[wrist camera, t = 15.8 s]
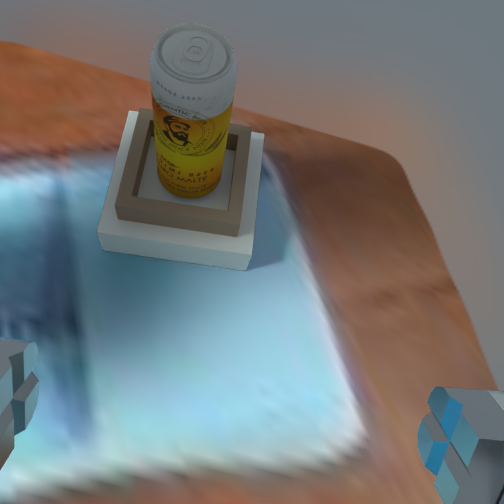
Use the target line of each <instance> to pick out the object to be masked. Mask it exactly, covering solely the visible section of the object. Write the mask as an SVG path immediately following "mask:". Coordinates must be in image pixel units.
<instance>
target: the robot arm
mask: <svg viewBox="0 0 504 504" xmlns="http://www.w3.org/2000/svg"><path fill="white" fill-rule="evenodd" d="M38 361H39V359H38V346H37V345H36V343H35V342H33V341H25V340H17V339H9V338H2V337H0V470H1V468H2V467H3V465H4V463H5V462H6V460H7V458H8V457H9V455H10V454H11V452H12V450H13V449H14V436H15V435H16V434H18V433H20V432H22V431H23V430H25V429H26V427H27V426H28V424H29V422H30V420H31V419H32V416H33V413H34V410H35V408H36V405H37V400H38V393H39V380H38V379H37V377H36V376H35V375H34V374H33V372H32V370H33V368H34V367H35V366H36V364H37V363H38ZM428 405H429V407H430V409H431V412H430V413H429V414H428V415H426V416H425V417H424V418H423V419H421V423H420V426H419V430H418V450H419V454H420V457H421V459H422V461H423V464H424V466H425V467H426V468H427V469H429V470H430V471H431V472H432V473H433V474H435V475H436V476H437V477H436V480H435V483H434V486H435V488H436V490H437V492H438V494H439V496H440V498H441V500H442V502H443V504H504V391H490V390H473V389H462V388H450V387H439V386H436V387H435V388H434V389H433V390H432V392H431V394H430V396H429V399H428Z"/></svg>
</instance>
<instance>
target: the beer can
mask: <svg viewBox="0 0 504 504" xmlns="http://www.w3.org/2000/svg"><path fill="white" fill-rule="evenodd" d="M149 63H150V64H149V65H150V79H151V92H152V106H153V120H154V133H155V147H156V160H157V173H158V178H159V180H160V182H161V184H162V185H163V186H164V188H166V189H167V190H168V191H169V192H171V193H172V194H174V195H176V196H179V197H183V198H199V197H203V196H205V195H207V194H209V193H211V192H212V191H213V190H214V189H215V188H216V187H217V186H218V184H219V182H220V180H221V175H222V169H223V162H224V156H225V149H226V143H227V136H228V130H229V123H230V117H231V110H232V103H233V97H234V91H235V83H236V77H237V69H238V67H237V62H236V59H235V57H234V54H233V49H232V46H231V44H230V42H229V41H228V40H227V38H226V37H224V35H222V34H221V33H220V32H218V31H217V30H215V29H213V28H211V27H208V26H205V25H201V24H193V23H186V24H179V25H175V26H172V27H170V28H168V29H166V30H165V31H164V32H162V34H161V35H160V36H159V37H158V39H157V41H156V44H155V47H154V49H153V50H152V52H151V55H150V60H149Z"/></svg>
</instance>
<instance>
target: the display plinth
mask: <svg viewBox="0 0 504 504" xmlns="http://www.w3.org/2000/svg"><path fill="white" fill-rule="evenodd" d="M251 131H252V127H247V126H241V125H236V124H230V123H229V130H228V136H227V143H226V149H225V156H224V162H223V169H222V175H221V180H220V182H219V184H218V186H217V187H216V188H215V189H214V190H213V191H212V192H211V193H209V194H207V195H205V196H203V197H199V198H183V197H179V196H176V195H174V194H172V193H171V192H169V191H168V190H167V189H166V188H164V186H163V185H162V184H161V182H160V180H159V178H158V173H157V160H156V147H155V133H154V120H153V110H150V109H144V108H140V109H139V112H136V111H130V110H129V113H128V117H127V121H126V124H125V128H124V132H123V136H122V139H121V143H120V147H119V150H118V154H117V158H116V162H115V165H114V169H113V173H112V176H111V180H110V184H109V188H108V191H107V195H106V199H105V202H104V206H103V210H102V213H101V217H100V221H99V225H98V228H97V235H98V237H99V240H100V243H101V246H102V248H103V250H104V251H111V252H118V253H125V254H132V255H139V256H145V257H152V258H159V259H166V260H173V261H180V262H187V263H194V264H201V265H208V266H215V267H222V268H229V269H236V270H243V271H246V270H247V267H248V264H249V262H250V259H251V256H252V250H253V240H254V230H255V221H256V211H257V201H258V192H259V182H260V172H261V162H262V153H263V143H264V134H262V133H256V132H251Z"/></svg>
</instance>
